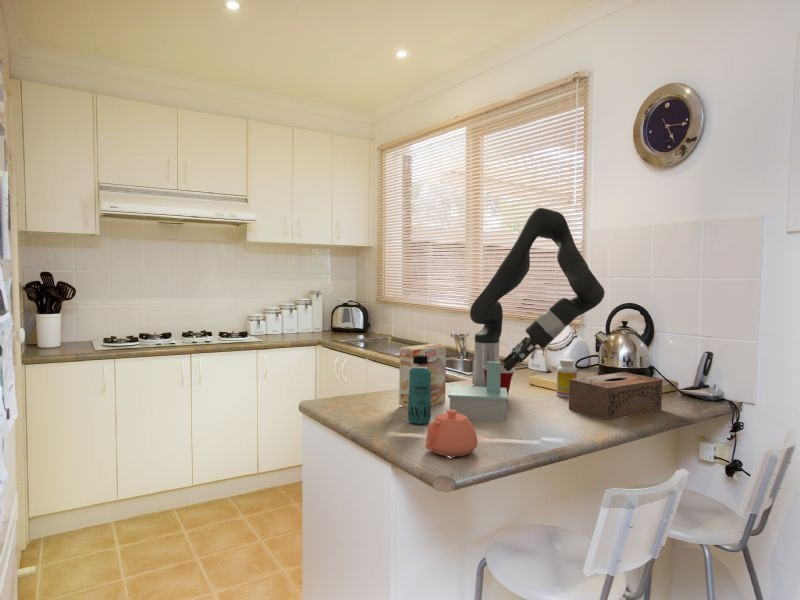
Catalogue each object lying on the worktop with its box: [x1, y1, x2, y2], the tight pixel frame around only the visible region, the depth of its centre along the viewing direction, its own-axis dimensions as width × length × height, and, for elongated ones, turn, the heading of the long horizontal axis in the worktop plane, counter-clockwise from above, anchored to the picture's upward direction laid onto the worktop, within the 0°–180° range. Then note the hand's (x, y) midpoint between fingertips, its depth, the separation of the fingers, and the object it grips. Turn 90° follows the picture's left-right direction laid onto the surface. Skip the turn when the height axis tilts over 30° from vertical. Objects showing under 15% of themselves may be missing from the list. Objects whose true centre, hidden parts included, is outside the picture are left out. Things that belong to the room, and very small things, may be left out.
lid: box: [447, 361, 509, 401], centre depth 157 cm, size 17×13×11 cm
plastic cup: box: [482, 364, 516, 402], centre depth 176 cm, size 11×11×12 cm
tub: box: [449, 398, 507, 422], centre depth 158 cm, size 16×12×7 cm
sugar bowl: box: [425, 409, 478, 457], centre depth 126 cm, size 12×14×10 cm
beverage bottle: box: [407, 355, 432, 424], centre depth 148 cm, size 6×7×20 cm
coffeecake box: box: [398, 343, 447, 408], centre depth 171 cm, size 15×7×20 cm, turn 131°
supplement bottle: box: [556, 358, 578, 399], centre depth 186 cm, size 7×7×13 cm
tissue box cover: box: [568, 371, 663, 421], centre depth 167 cm, size 26×14×10 cm, turn 119°
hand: (505, 366), depth 156 cm, fingers open, 8 cm apart
